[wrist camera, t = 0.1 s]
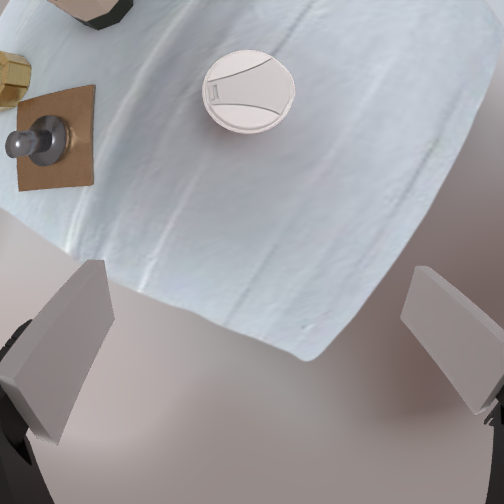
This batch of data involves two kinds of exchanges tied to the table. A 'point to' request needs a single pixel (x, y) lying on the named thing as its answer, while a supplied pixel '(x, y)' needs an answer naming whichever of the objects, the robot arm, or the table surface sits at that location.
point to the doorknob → (54, 140)
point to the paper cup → (248, 91)
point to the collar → (13, 79)
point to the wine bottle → (95, 11)
